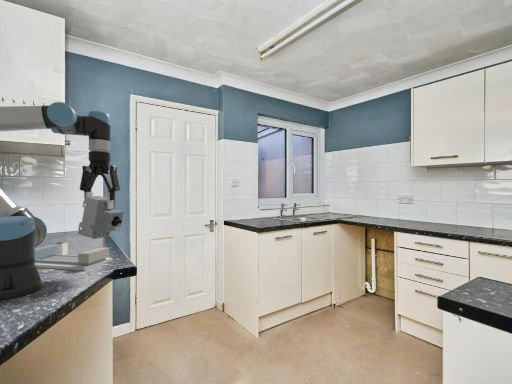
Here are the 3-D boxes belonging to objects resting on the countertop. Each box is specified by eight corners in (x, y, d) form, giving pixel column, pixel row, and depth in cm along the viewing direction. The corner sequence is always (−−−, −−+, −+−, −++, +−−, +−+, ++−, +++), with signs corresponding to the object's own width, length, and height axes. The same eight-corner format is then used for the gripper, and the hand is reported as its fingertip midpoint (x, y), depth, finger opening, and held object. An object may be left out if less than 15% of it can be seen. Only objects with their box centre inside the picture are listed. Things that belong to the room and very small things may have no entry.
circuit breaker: (108, 243, 105) (116, 204, 104) (77, 233, 108) (84, 196, 107) (122, 239, 112) (129, 203, 112) (92, 231, 115) (99, 196, 114)
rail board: (84, 270, 112) (84, 254, 112) (19, 266, 118) (19, 251, 118) (112, 260, 127) (112, 246, 127) (53, 257, 133) (53, 244, 133)
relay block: (62, 256, 135) (62, 242, 135) (53, 256, 134) (53, 242, 134) (67, 254, 140) (67, 240, 140) (59, 254, 139) (58, 241, 139)
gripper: (130, 152, 112) (129, 208, 112) (83, 153, 116) (83, 207, 116) (117, 149, 104) (117, 209, 105) (68, 151, 108) (68, 208, 108)
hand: (99, 208), depth 110 cm, fingers closed on circuit breaker, 9 cm apart
